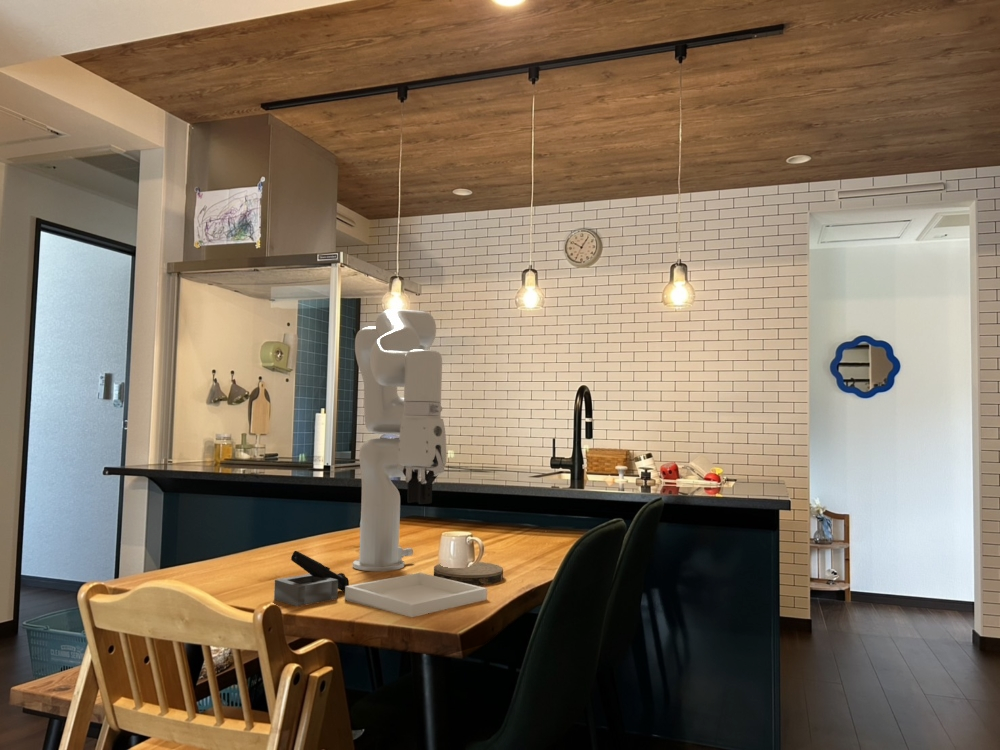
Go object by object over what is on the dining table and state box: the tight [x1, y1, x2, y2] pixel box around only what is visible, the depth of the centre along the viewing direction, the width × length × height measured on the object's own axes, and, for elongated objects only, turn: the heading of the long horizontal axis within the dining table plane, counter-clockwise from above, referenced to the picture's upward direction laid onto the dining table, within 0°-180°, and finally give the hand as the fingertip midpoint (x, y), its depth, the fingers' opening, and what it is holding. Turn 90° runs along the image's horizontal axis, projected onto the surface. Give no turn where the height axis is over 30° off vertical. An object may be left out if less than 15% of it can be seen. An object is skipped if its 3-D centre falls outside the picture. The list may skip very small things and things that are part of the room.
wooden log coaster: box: [433, 561, 504, 586], centre depth 175 cm, size 16×16×3 cm
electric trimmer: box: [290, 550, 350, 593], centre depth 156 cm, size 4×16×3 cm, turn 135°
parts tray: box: [344, 572, 488, 618], centre depth 153 cm, size 20×20×3 cm
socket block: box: [273, 573, 339, 607], centre depth 153 cm, size 9×8×4 cm
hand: (419, 502), depth 154 cm, fingers closed
